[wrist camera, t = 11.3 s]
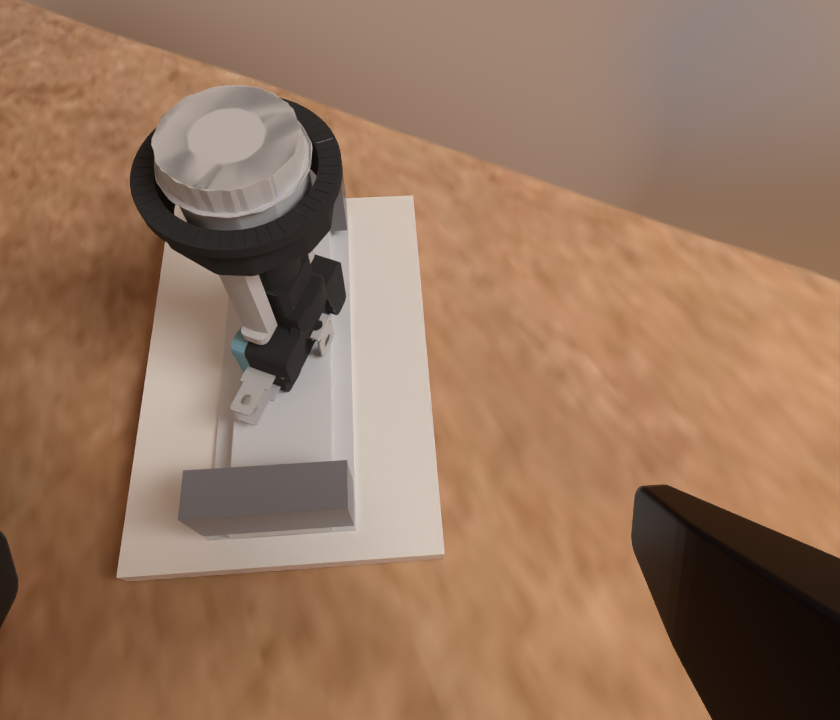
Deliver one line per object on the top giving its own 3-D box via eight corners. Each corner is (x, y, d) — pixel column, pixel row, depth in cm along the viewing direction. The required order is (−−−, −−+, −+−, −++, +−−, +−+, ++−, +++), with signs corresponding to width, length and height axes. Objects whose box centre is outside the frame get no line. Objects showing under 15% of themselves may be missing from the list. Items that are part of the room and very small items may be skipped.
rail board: (442, 558, 22) (450, 535, 18) (128, 581, 21) (66, 562, 17) (412, 210, 29) (413, 140, 25) (177, 220, 28) (142, 149, 24)
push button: (315, 451, 21) (250, 299, 13) (182, 403, 22) (30, 227, 13) (383, 302, 24) (370, 91, 15) (263, 264, 25) (184, 42, 16)
